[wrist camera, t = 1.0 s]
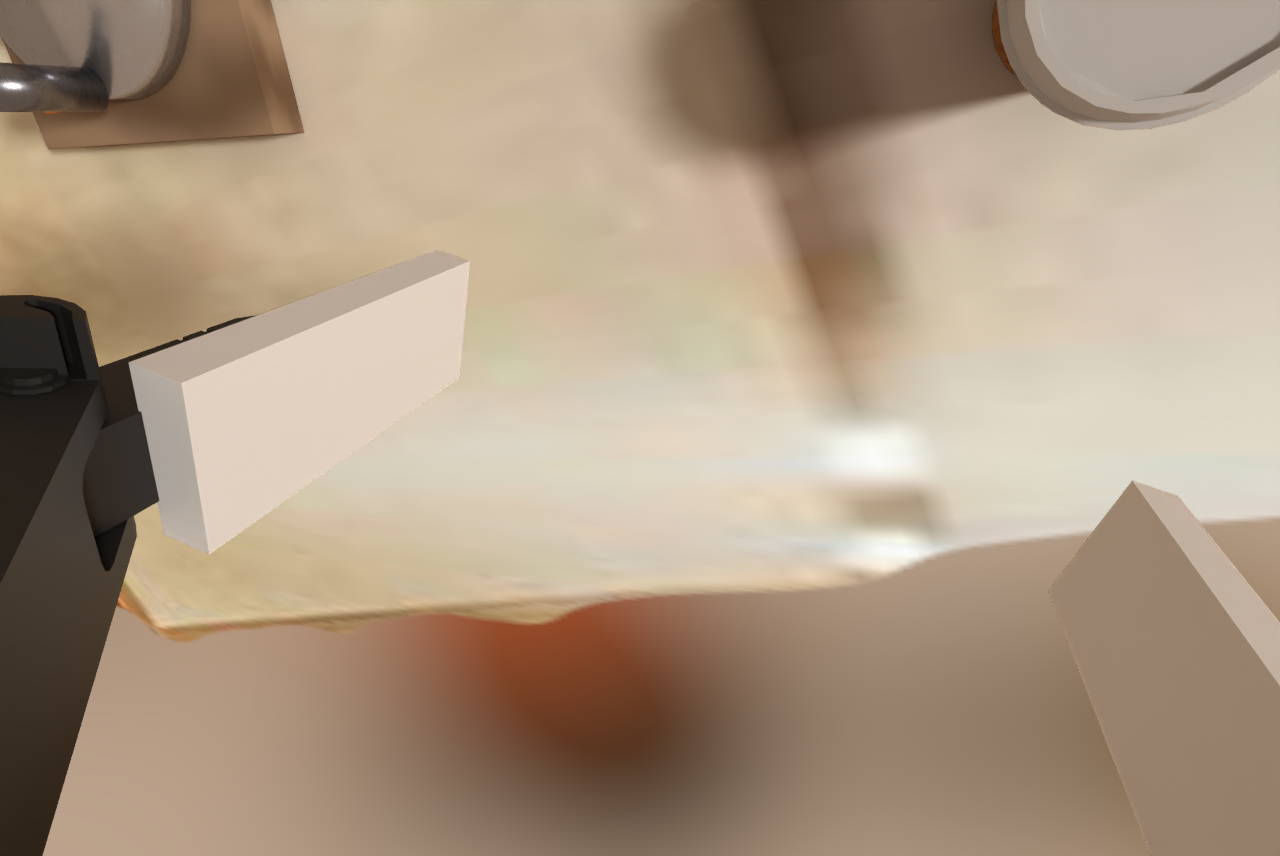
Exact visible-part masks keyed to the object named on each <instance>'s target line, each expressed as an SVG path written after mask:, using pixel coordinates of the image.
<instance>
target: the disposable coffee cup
mask: <svg viewBox="0 0 1280 856" xmlns="http://www.w3.org/2000/svg"><path fill="white" fill-rule="evenodd" d="M992 35H993V39H994V43H995V48H996V51H997V52H998V54H999V56H1000V58H1001V60H1002V62H1003V63H1004V65H1005V66H1006V67H1007V68H1008V70H1010V71H1011V72H1012V73H1014V74H1015V75H1016V76H1017V77H1018V78H1019V80H1020V82H1021V83H1022V85H1023V86H1024V87H1025V88H1026V89H1027V90H1028V91H1029V93H1030V94H1032V95H1033V96H1034V97H1035V98H1036V99H1037V100H1038V101H1039V102H1040V103H1041V104H1043V105H1044V106H1046V107H1047V108H1049V109H1050V110H1051V111H1053V112H1055V113H1057V114H1059V115H1061V116H1063V117H1066V118H1068V119H1070V120H1073V121H1075V122H1077V123H1080V124H1082V125H1087V126H1093V127H1100V128H1106V129H1113V130H1133V129H1151V128H1156V127H1160V126H1165V125H1169V124H1174V123H1178V122H1183V121H1186V120H1189V119H1192V118H1194V117H1197V116H1199V115H1202V114H1205V113H1207V112H1210V111H1212V110H1215V109H1218V108H1219V107H1221V106H1223V105H1225V104H1227V103H1229V102H1231V101H1233V100H1235V99H1237V98H1238V97H1240V96H1242V95H1244V94H1246V93H1248V92H1249V91H1251V90H1252V89H1253V88H1255V87H1256V86H1258V85H1259V84H1261V83H1262V82H1263V81H1265V80H1266V79H1268V78H1269V77H1271V76H1272V75H1274V74H1275V73H1276V72H1278V71H1279V70H1280V0H996V1H995V5H994V11H993V16H992Z"/></svg>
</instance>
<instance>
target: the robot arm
mask: <svg viewBox="0 0 1280 856" xmlns="http://www.w3.org/2000/svg"><path fill="white" fill-rule="evenodd" d="M469 267H470V261H469V260H466V259H463V258H460V257H457V256H454V255H451V254H448V253H445V252H442V251H439V250H435V251H433V252H430V253H427V254H424V255H422V256H419V257H416V258H413V259H411V260H408V261H405V262H402V263H400V264H397V265H394V266H391V267H389V268H386V269H383V270H380V271H378V272H375V273H372V274H370V275H367V276H364V277H361V278H359V279H356V280H353V281H350V282H348V283H345V284H342V285H339V286H337V287H334V288H331V289H328V290H326V291H323V292H320V293H317V294H315V295H312V296H309V297H306V298H304V299H301V300H298V301H296V302H293V303H290V304H287V305H285V306H282V307H279V308H276V309H274V310H271V311H268V312H265V313H263V314H260V315H256V316H249V317H243V318H236V319H233V320H230V321H227V322H225V323H222V324H219V325H216V326H213V327H211V328H208V329H207V331H206V332H203V331H199V332H197V333H194V334H191V335H188V336H185V337H183V340H182V341H180V340H174V341H171V342H169V343H166V344H163V345H160V346H157V347H155V348H152V349H149V350H146V351H143V352H141V353H138V354H135V355H132V356H129V357H127V358H124V359H121V360H118V361H115V362H113V363H110V364H107V365H104V366H101V367H99V366H98V362H97V358H96V353H95V349H94V345H93V341H92V336H91V332H90V328H89V324H88V319H87V315H86V311H84V310H83V309H82V308H80V307H79V306H78V305H76V304H75V303H71V302H68V301H64V300H61V299H58V298H51V297H42V296H33V295H7V296H0V856H42V855H43V852H44V848H45V845H46V842H47V838H48V835H49V831H50V828H51V825H52V821H53V818H54V815H55V811H56V808H57V804H58V801H59V798H60V794H61V791H62V787H63V784H64V781H65V777H66V774H67V770H68V767H69V764H70V760H71V757H72V754H73V750H74V747H75V743H76V740H77V737H78V733H79V730H80V727H81V723H82V720H83V716H84V713H85V710H86V706H87V703H88V699H89V696H90V692H91V689H92V686H93V682H94V679H95V676H96V672H97V669H98V666H99V662H100V659H101V655H102V652H103V648H104V645H105V642H106V639H107V635H108V632H109V628H110V625H111V621H112V618H113V615H114V611H115V608H116V605H117V601H118V598H119V595H120V591H121V588H122V584H123V581H124V578H125V574H126V571H127V567H128V564H129V561H130V557H131V554H132V551H133V547H134V544H135V540H136V537H137V534H136V524H135V520H134V515H136V514H137V513H139V512H141V511H142V510H144V509H146V508H148V507H149V506H151V505H153V504H155V503H156V502H157V503H158V508H159V513H160V517H161V522H162V527H163V532H164V535H166V536H168V537H170V538H173V539H175V540H177V541H180V542H182V543H184V544H187V545H189V546H191V547H193V548H196V549H198V550H200V551H203V552H205V553H207V554H211V553H212V552H213V551H215V550H216V549H218V548H219V547H220V546H222V545H223V544H225V543H226V542H228V541H229V540H230V539H232V538H233V537H235V536H236V535H237V534H239V533H240V532H242V531H243V530H245V529H246V528H247V527H249V526H250V525H252V524H253V523H254V522H256V521H257V520H259V519H260V518H261V517H263V516H264V515H266V514H267V513H269V512H270V511H271V510H273V509H274V508H276V507H277V506H278V505H280V504H281V503H283V502H284V501H286V500H287V499H288V498H290V497H291V496H293V495H294V494H295V493H297V492H298V491H300V490H301V489H302V488H304V487H305V486H307V485H308V484H310V483H311V482H312V481H314V480H315V479H317V478H318V477H319V476H321V475H322V474H324V473H325V472H327V471H328V470H329V469H331V468H332V467H334V466H335V465H336V464H338V463H339V462H341V461H342V460H344V459H345V458H346V457H348V456H349V455H351V454H352V453H353V452H355V451H356V450H358V449H359V448H360V447H362V446H363V445H365V444H366V443H368V442H369V441H370V440H372V439H373V438H375V437H376V436H377V435H379V434H380V433H382V432H383V431H385V430H386V429H387V428H389V427H390V426H392V425H393V424H394V423H396V422H397V421H399V420H400V419H401V418H403V417H404V416H406V415H407V414H409V413H410V412H411V411H413V410H414V409H416V408H417V407H418V406H420V405H421V404H423V403H424V402H426V401H427V400H428V399H430V398H431V397H433V396H434V395H435V394H437V393H438V392H440V391H441V390H442V389H444V388H445V387H447V386H448V385H450V384H451V383H452V382H454V381H455V380H457V379H458V378H459V377H460V367H461V356H462V345H463V334H464V323H465V312H466V301H467V289H468V278H469ZM1048 593H1049V595H1050V598H1051V600H1052V603H1053V605H1054V608H1055V610H1056V613H1057V616H1058V618H1059V621H1060V624H1061V626H1062V629H1063V631H1064V634H1065V636H1066V639H1067V642H1068V644H1069V647H1070V649H1071V652H1072V655H1073V657H1074V659H1075V662H1076V665H1077V667H1078V670H1079V673H1080V675H1081V678H1082V680H1083V683H1084V685H1085V688H1086V690H1087V693H1088V696H1089V698H1090V701H1091V703H1092V706H1093V709H1094V711H1095V714H1096V716H1097V719H1098V722H1099V724H1100V727H1101V729H1102V732H1103V734H1104V737H1105V740H1106V742H1107V745H1108V747H1109V750H1110V752H1111V755H1112V758H1113V760H1114V763H1115V765H1116V768H1117V771H1118V773H1119V776H1120V778H1121V781H1122V783H1123V786H1124V789H1125V791H1126V794H1127V796H1128V799H1129V802H1130V804H1131V807H1132V809H1133V812H1134V814H1135V817H1136V819H1137V822H1138V825H1139V827H1140V830H1141V833H1142V835H1143V838H1144V840H1145V843H1146V845H1147V848H1148V850H1149V853H1150V856H1280V622H1279V621H1278V620H1277V618H1276V617H1275V616H1274V615H1273V613H1272V612H1271V611H1270V610H1269V608H1268V607H1267V606H1266V605H1265V603H1264V602H1263V601H1262V600H1261V599H1260V597H1259V596H1258V595H1257V594H1256V592H1255V591H1254V590H1253V589H1252V587H1251V586H1250V585H1249V584H1248V582H1247V581H1246V580H1245V579H1244V577H1243V576H1242V575H1241V574H1240V572H1239V571H1238V570H1237V569H1236V567H1235V566H1234V565H1233V564H1232V562H1231V561H1230V560H1229V559H1228V558H1227V556H1226V555H1225V554H1224V553H1223V551H1222V550H1221V549H1220V548H1219V546H1218V545H1217V544H1216V543H1215V541H1214V540H1213V539H1212V538H1211V536H1210V535H1209V534H1208V533H1207V531H1206V530H1205V529H1204V528H1203V526H1202V525H1201V524H1200V523H1199V522H1198V520H1197V519H1196V518H1195V517H1194V515H1193V514H1192V513H1191V512H1190V510H1189V509H1188V508H1187V507H1186V505H1185V504H1184V503H1183V502H1182V500H1181V499H1180V498H1179V497H1178V496H1177V495H1174V494H1171V493H1168V492H1165V491H1162V490H1159V489H1156V488H1153V487H1150V486H1147V485H1144V484H1141V483H1138V482H1135V481H1132V482H1131V483H1130V484H1129V486H1128V487H1127V488H1126V490H1125V491H1124V492H1123V493H1122V495H1121V496H1120V497H1119V499H1118V500H1117V501H1116V503H1115V504H1114V505H1113V506H1112V508H1111V509H1110V510H1109V512H1108V513H1107V514H1106V515H1105V517H1104V518H1103V519H1102V521H1101V522H1100V523H1099V525H1098V526H1097V527H1096V528H1095V530H1094V531H1093V532H1092V534H1091V535H1090V536H1089V538H1088V539H1087V540H1086V541H1085V543H1084V544H1083V545H1082V547H1081V548H1080V549H1079V551H1078V552H1077V553H1076V554H1075V556H1074V557H1073V558H1072V560H1071V561H1070V562H1069V564H1068V565H1067V566H1066V567H1065V569H1064V570H1063V571H1062V573H1061V574H1060V575H1059V576H1058V578H1057V579H1056V580H1055V582H1054V583H1053V584H1052V585H1051V587H1050V588H1049V589H1048Z"/></svg>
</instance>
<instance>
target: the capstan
mask: <svg viewBox="0 0 1280 856" xmlns="http://www.w3.org/2000/svg"><path fill="white" fill-rule="evenodd" d="M190 22H191V0H0V36H1V38H2V39H3V40H4V41H5V42H6V43H7V45H8V46H9V47H10V48H11V49H12V51H13V52H14V53H15V54H16V55H17V56H18V57H19V58H20V59H21V60H22V61H23V62H24V63H25V64H15V63H0V112H45V113H60V112H101V111H104V110H105V109H106V108H107V106H108V102H109V99H139V98H144V97H147V96H149V95H151V94H154V93H156V92H157V91H159V90H160V89H161V88H163V87H164V86H165V85H166V84H167V83H168V82H169V81H170V79H171V78H172V77H173V76H174V74H175V72H176V71H177V69H178V67H179V66H180V63H181V61H182V58H183V56H184V53H185V50H186V46H187V42H188V38H189V30H190Z"/></svg>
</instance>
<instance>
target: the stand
mask: <svg viewBox="0 0 1280 856" xmlns="http://www.w3.org/2000/svg"><path fill="white" fill-rule="evenodd" d="M3 41H4V40H3ZM4 44H5V46H6V49H7V51H8V54H9V56H10V58H11V61H12V63H15V64H25V63H24V62H23V61H22V60H21V59H20V58H19V57H18V56H17V55H16V54H15V53H14V52H13V51H12V49H11V48H10V47H9V46H8V45H7V43H6V42H5V41H4ZM33 114H34V116H35V119H36V121H37V123H38V126H39V128H40V131H41V133H42V135H43V138H44V140H45V143H46V145H47V147H48V149H58V148H78V147H95V146H110V145H125V144H140V143H155V142H170V141H185V140H200V139H215V138H230V137H245V136H260V135H274V134H289V133H304V130H303V126H302V122H301V119H300V115H299V111H298V107H297V103H296V99H295V95H294V91H293V87H292V83H291V79H290V75H289V71H288V68H287V64H286V60H285V56H284V52H283V48H282V44H281V40H280V36H279V32H278V28H277V24H276V20H275V17H274V13H273V9H272V5H271V1H270V0H191V22H190V30H189V38H188V42H187V46H186V50H185V53H184V56H183V58H182V61H181V63H180V66H179V67H178V69H177V71H176V72H175V74H174V76H173V77H172V78H171V79H170V81H169V82H168V83H167V84H166V85H165V86H164V87H163V88H161V89H160V90H159V91H157V92H156V93H154V94H151V95H149V96H147V97H144V98H139V99H109V102H108V106H107V108H106V109H105V110H104V111H101V112H60V113H45V112H33Z"/></svg>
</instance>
